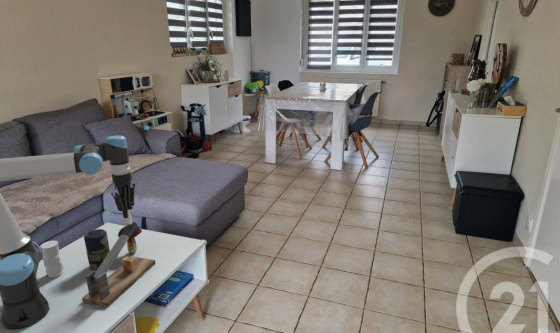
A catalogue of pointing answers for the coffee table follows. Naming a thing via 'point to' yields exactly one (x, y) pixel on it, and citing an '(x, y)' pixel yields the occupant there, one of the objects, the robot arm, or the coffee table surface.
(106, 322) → the coffee table surface
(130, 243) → the decorative mushroom
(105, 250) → the canister
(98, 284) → the base
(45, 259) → the white ribbed cylinder
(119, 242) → the lever
